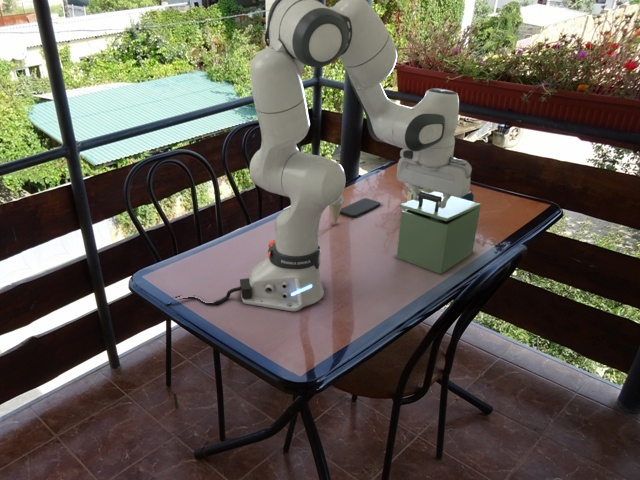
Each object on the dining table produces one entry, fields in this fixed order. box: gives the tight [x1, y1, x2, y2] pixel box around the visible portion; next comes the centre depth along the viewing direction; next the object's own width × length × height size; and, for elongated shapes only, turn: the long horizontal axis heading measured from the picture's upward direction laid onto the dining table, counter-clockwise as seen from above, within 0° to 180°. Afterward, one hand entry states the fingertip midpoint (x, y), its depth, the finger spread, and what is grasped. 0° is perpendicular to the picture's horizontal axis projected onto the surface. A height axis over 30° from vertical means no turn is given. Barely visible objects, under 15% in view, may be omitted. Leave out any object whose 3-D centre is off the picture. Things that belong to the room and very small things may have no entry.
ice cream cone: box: [328, 193, 344, 225], centre depth 183 cm, size 5×5×15 cm
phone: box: [339, 198, 381, 218], centre depth 195 cm, size 7×1×15 cm
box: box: [396, 206, 481, 275], centre depth 160 cm, size 17×15×15 cm
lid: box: [399, 191, 482, 221], centre depth 154 cm, size 18×15×5 cm
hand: (429, 203), depth 151 cm, fingers closed on lid, 6 cm apart
